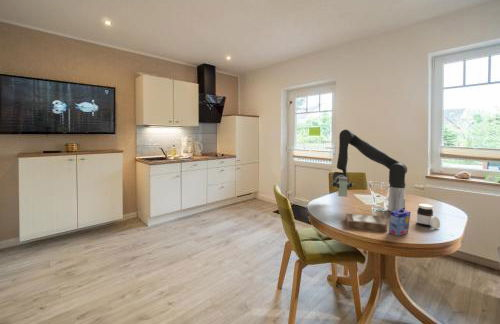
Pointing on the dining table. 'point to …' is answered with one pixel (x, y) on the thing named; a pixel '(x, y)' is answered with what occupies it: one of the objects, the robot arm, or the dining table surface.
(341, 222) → the dining table surface
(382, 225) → the dock
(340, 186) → the block
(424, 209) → the spread jar
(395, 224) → the ink cartridge box
